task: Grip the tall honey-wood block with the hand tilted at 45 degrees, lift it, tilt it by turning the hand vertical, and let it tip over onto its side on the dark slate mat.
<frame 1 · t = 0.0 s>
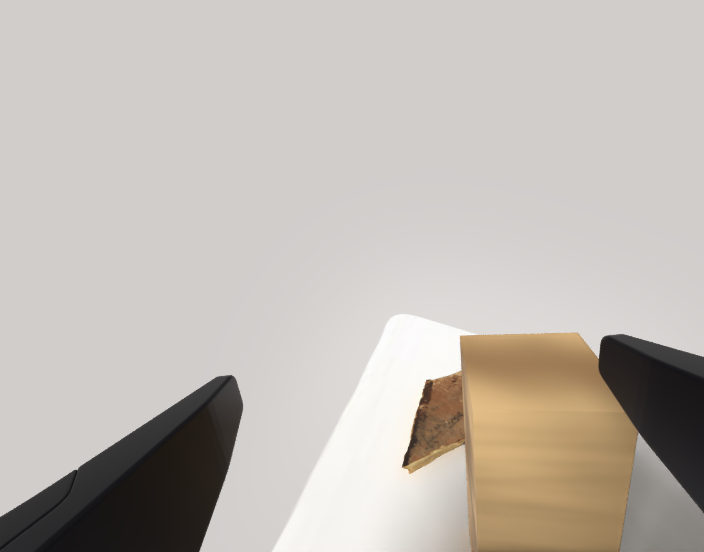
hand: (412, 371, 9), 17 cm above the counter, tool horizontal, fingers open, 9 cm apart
shard: (466, 431, 29), on the counter
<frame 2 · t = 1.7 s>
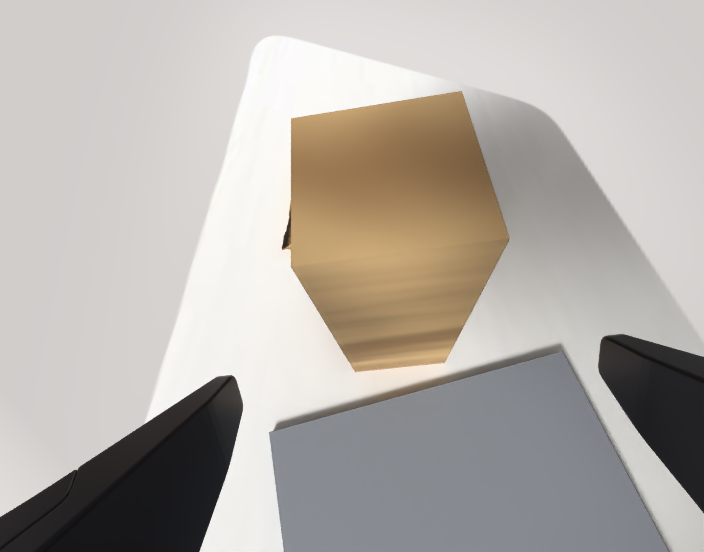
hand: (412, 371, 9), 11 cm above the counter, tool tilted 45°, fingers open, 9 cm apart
wood block: (393, 324, 21), on the counter
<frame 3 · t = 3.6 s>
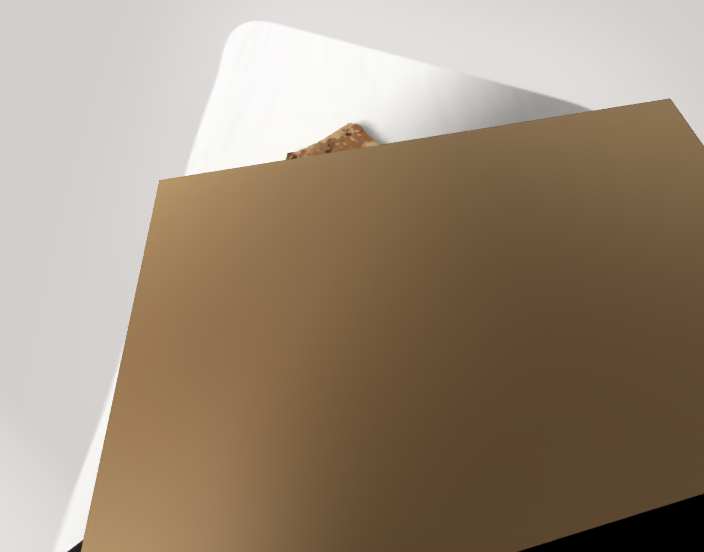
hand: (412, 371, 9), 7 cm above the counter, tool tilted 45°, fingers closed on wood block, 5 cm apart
shard: (349, 227, 20), on the counter
wood block: (411, 438, 14), on the counter, touching gripper
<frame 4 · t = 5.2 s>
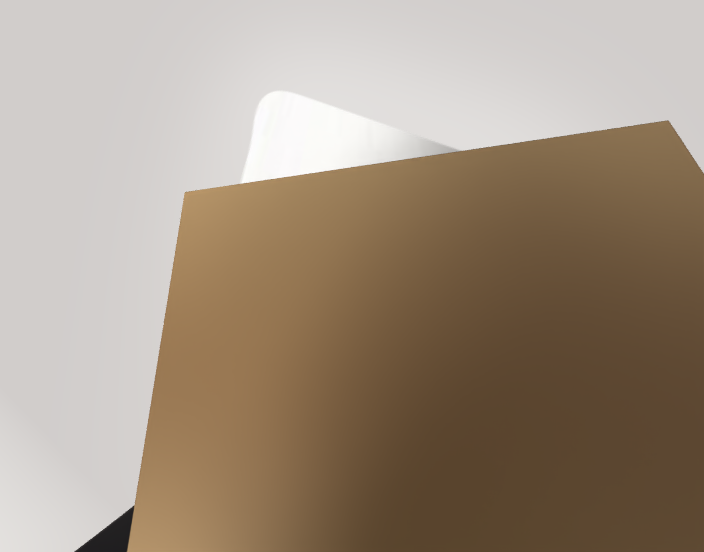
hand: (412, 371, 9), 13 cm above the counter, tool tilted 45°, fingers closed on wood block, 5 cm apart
wood block: (411, 436, 14), point 6 cm above the counter, touching gripper
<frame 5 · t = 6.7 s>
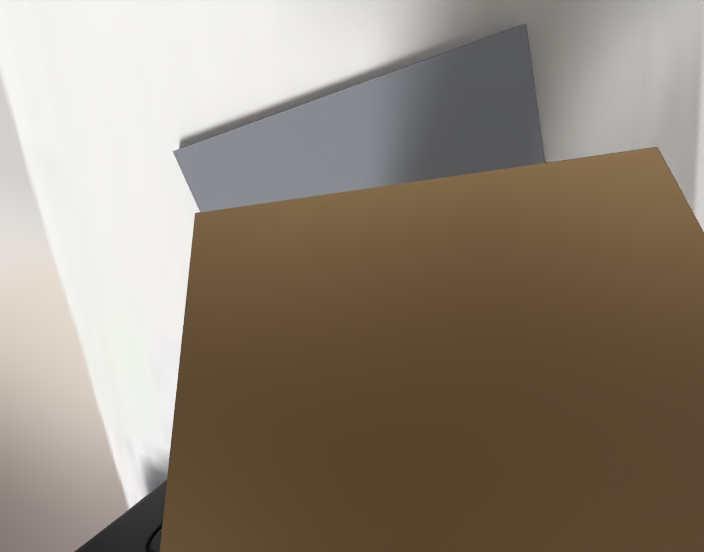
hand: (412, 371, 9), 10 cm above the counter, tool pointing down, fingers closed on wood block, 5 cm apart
slate mat: (387, 258, 18), on the counter
wood block: (409, 422, 15), point 5 cm above the counter, tilted 42°, touching gripper
when the fingers open (8 cm above the counter, at t = 7.9 s): wood block moves 2 cm and tips over, resting on slate mat.
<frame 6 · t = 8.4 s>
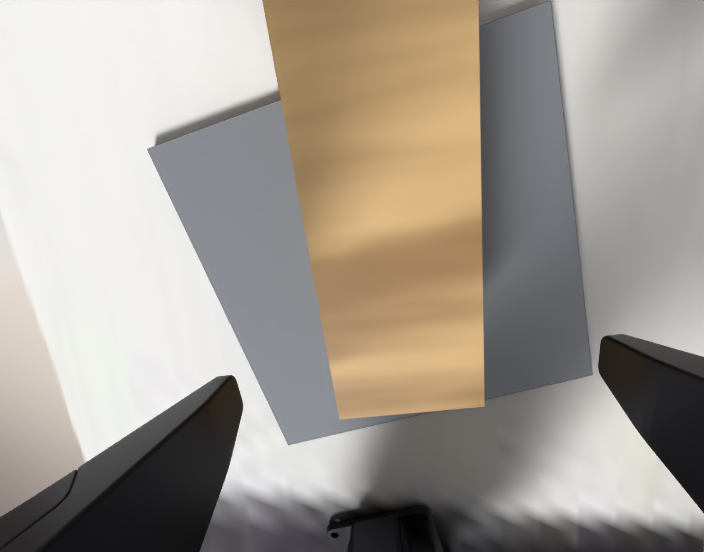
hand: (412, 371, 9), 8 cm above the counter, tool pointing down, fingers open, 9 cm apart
slate mat: (389, 268, 16), on the counter
wood block: (403, 370, 14), point 3 cm above the counter, tilted 90°, touching slate mat
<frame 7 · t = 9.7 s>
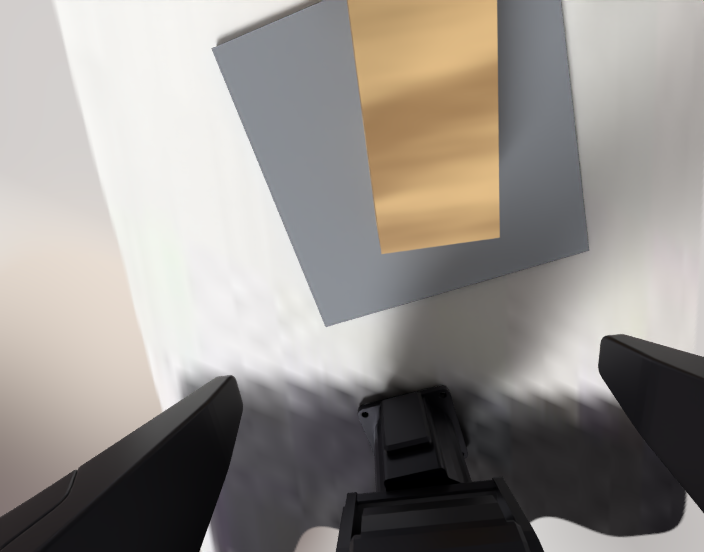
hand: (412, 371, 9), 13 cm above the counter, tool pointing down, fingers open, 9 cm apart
slate mat: (414, 157, 19), on the counter
wood block: (429, 232, 17), point 3 cm above the counter, tilted 90°, touching slate mat
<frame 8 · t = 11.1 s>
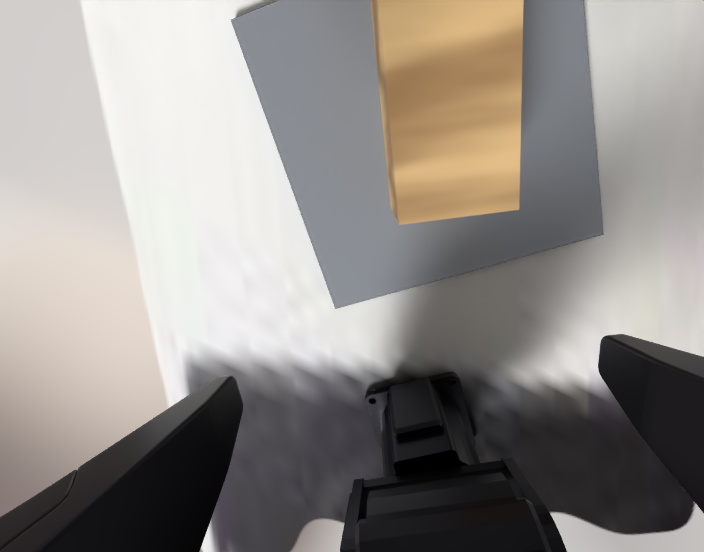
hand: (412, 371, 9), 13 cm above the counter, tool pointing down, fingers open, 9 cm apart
slate mat: (429, 135, 19), on the counter
wood block: (445, 208, 17), point 3 cm above the counter, tilted 90°, touching slate mat
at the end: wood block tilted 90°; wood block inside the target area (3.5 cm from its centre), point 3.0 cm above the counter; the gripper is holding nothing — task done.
